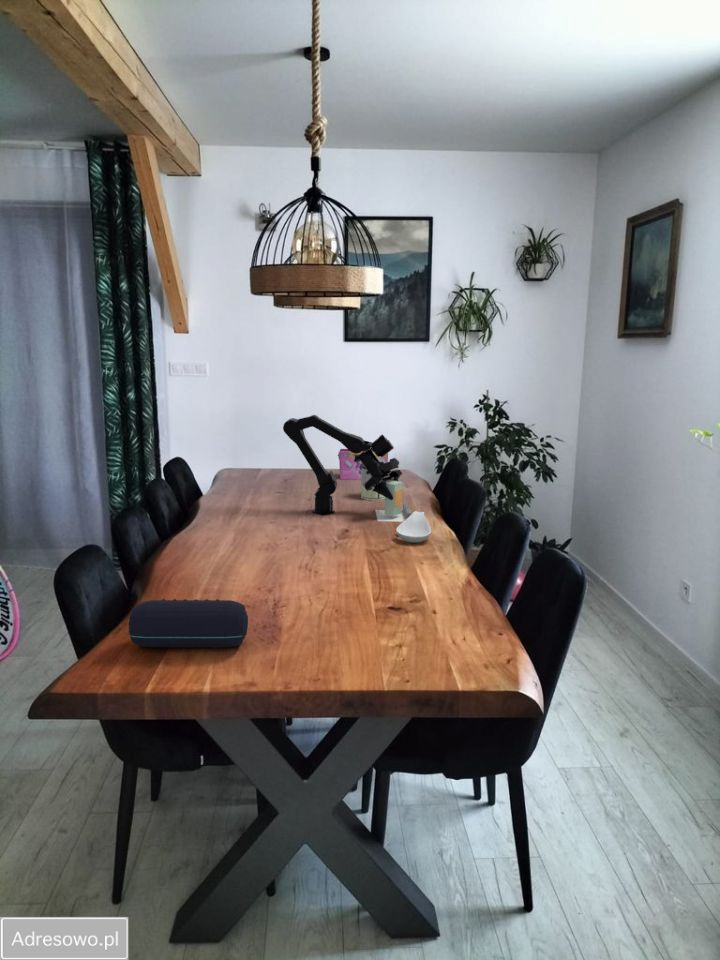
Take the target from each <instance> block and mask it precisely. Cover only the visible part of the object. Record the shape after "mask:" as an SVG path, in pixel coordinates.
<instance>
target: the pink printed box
mask: <svg viewBox="0 0 720 960" xmlns="http://www.w3.org/2000/svg"><path fill="white" fill-rule="evenodd" d="M366 451H368V450H365V452H366ZM362 452H363V451H362ZM362 452H360V453H358V454H355V453H352V452H351V451H350V450H348V449H347V448H340V449H339V450H338V454H337V457H338V460H339V461H338V463H339V475H340V477H339V478H340V480H356V479H359V480H360V481H361V478H362V467H361V465H362V463H361V461H360V462H358V463H356V462H354V459H355V455H360V454H361V453H362ZM372 452H373V453H374V451H372ZM374 455H375V456H376V457H377V459H378V460H379V461H380V462H384V463H387V462H389V453H387V454H386V455H385V456H383V457H381V456H380V457H378V456H377V455H376V454H375V453H374Z"/></svg>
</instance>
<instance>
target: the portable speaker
mask: <svg viewBox="0 0 720 960" xmlns="http://www.w3.org/2000/svg"><path fill="white" fill-rule="evenodd" d="M128 620H129V621H128V633H129V638H130V640H131V641H132V643H133V644H134V645H137V646H139V647H140V646H141V647H147V648H232V647H238V646H240V645H242V644H243V641H244V640H245V638H246V636H247V633H248V629H249V616H248V612H247V610H246V605H244V604H242V603H241V602H238V601H235V600H230V599H228V600H226V599H225V600H223V599H221V600H220V599H215V600H213V599H211V600H210V599H202V600H201V599H200V600H199V599H194V600H193V599H192V600H189V599H187V598H186V599H182V600H181V599H175V598H174V599H172V600H171V599H169V600H168V599H165V598H163V599H151V600H146V601H143V602H140V603H137V604H136V605H135V606H133V608H132V609H131V612H130V615H129V619H128Z"/></svg>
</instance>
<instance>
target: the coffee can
mask: <svg viewBox="0 0 720 960" xmlns="http://www.w3.org/2000/svg"><path fill="white" fill-rule="evenodd" d="M361 467H362V478H361V480H360V481H361V485H360V486H361V487H360V488H361V490H360V491H361V492H360V493H361V494H360V498H361V499H362V500H365V501H375V500H379V501H382V500H385V496H383V495H381V494H379V493H377V492H375V491H372V490H373V489H374V486H372V490H369V491H367V490H366V489H365V488H364V484H365V483H366V482H367V481H368V480H369V479H370V478H371V477H372V476H371V475H370V474H368V475H367V473H366V472H367V469H366V468H365V467H364V465H363V464H362V465H361Z"/></svg>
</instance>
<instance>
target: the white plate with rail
mask: <svg viewBox="0 0 720 960" xmlns="http://www.w3.org/2000/svg"><path fill="white" fill-rule="evenodd" d="M384 511H385V509H375V515H376V520H377V522H395V523H396V522H398V523H399V522H401V523H402V522H404V521H405V520H406V519H407V518H408V517H409V516H410V515H412V513H411V509H410V508H409V505H408V503H407V502H403V504H402V509H401V514H399V515H396V516H389V515H384Z"/></svg>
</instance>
